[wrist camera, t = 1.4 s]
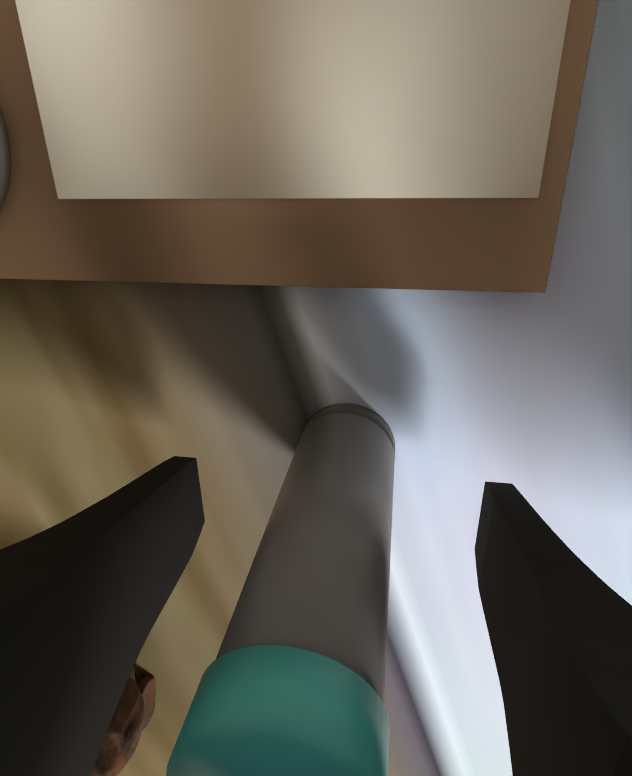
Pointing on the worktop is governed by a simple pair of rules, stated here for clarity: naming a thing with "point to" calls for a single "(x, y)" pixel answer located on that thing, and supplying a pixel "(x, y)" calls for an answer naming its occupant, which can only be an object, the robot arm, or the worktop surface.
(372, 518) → the marker
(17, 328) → the worktop surface
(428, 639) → the worktop surface
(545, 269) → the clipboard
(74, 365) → the worktop surface
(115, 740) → the reddish-brown lumpy part
